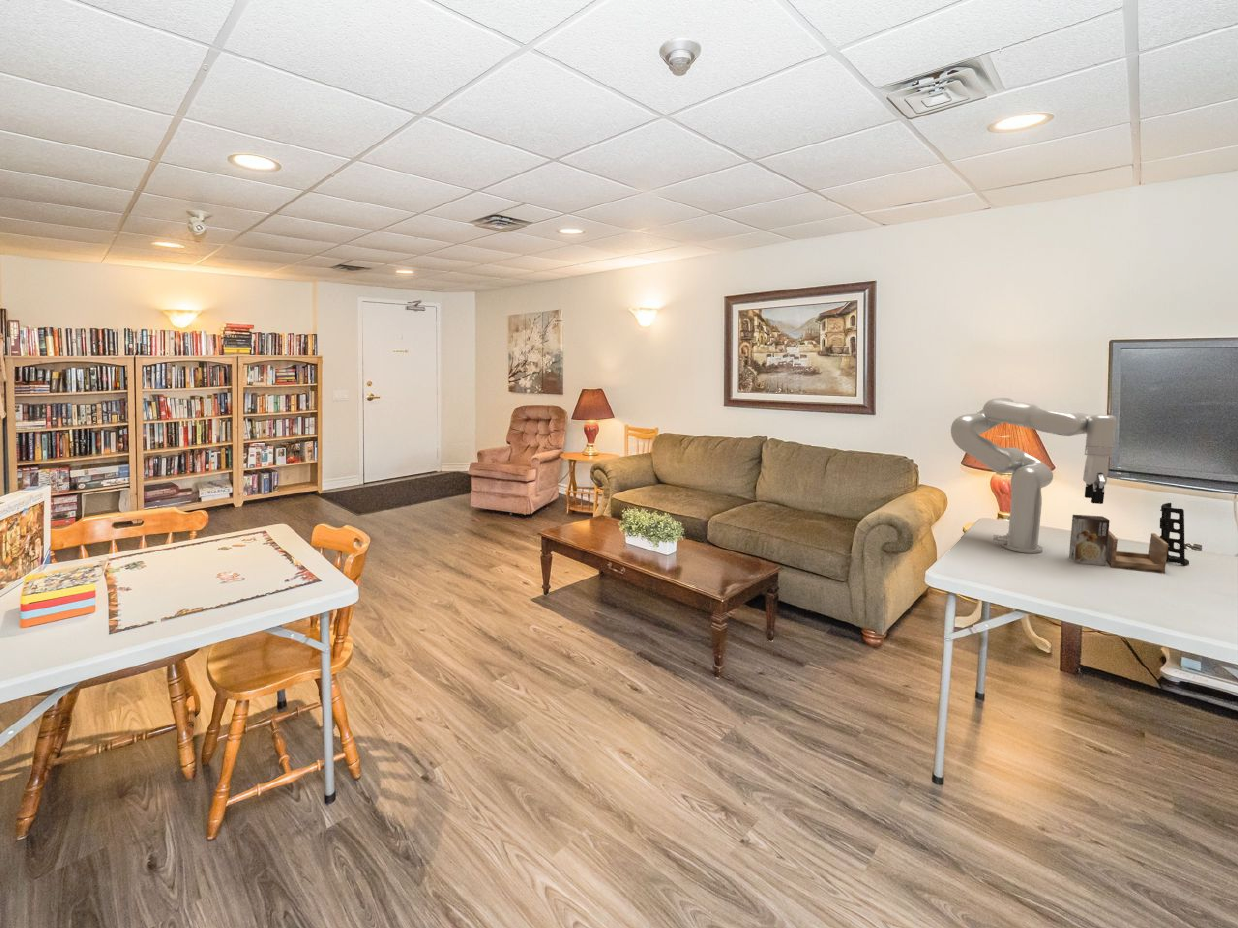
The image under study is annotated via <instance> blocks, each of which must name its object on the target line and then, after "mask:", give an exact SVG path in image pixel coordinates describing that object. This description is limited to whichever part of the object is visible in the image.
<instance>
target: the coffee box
mask: <svg viewBox="0 0 1238 928" xmlns="http://www.w3.org/2000/svg"><path fill="white" fill-rule="evenodd" d="M1071 517H1072V519H1071V528H1070V529H1071V530H1070V540H1069V541H1070V542H1069V551H1068V559H1069V560H1071V561H1072V562H1073V563H1074V564H1083V565H1098V566H1106V563H1107V562H1106V555H1107V544H1108V533H1109V531H1110V522H1111V521H1110V520H1109V519H1108V518H1106V517H1105V516H1101V515H1088V514H1087V515H1085V514H1072V516H1071Z"/></svg>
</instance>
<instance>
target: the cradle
mask: <svg viewBox="0 0 1238 928" xmlns="http://www.w3.org/2000/svg"><path fill="white" fill-rule="evenodd" d="M1118 542H1119V538H1117V537H1116V536H1115V535H1114V534H1113V533H1112V532H1111V530H1109V533H1108V544H1107V555H1106V563H1107V564H1108V566H1109V567H1110V568H1113V569H1120V570H1121V569H1123V570H1131V571H1139V572H1140V571H1141V572H1148V573H1149V572H1150V573H1158V574H1165V572H1166V565H1167V564H1166V563H1167V561H1166V558H1167V551H1168V543H1166V542H1165V541H1164V540H1163V539H1161V538H1160V536H1159V535H1158V534H1157V533H1154V532H1152V533H1150V538H1149V545H1148V546H1149V547H1148V553H1143V552H1142V553H1141V552H1131V551H1123V550H1118Z"/></svg>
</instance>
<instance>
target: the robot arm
mask: <svg viewBox="0 0 1238 928" xmlns="http://www.w3.org/2000/svg"><path fill="white" fill-rule="evenodd" d="M1117 421H1118V420H1117V417H1116V416H1115V415H1111V414H1088V413H1083V412H1081V413H1080V412H1075V413H1074V412H1073V413H1062V412H1055V411H1049V410H1046V409H1042V408H1040V407H1039V406H1037V405H1036V404H1032V403H1025V402H1019V401H1015V400H1013V399H1011V398H1007V397H1000V398H999V397H998V398H992V399H989V400H987V401H986V403H985V404H984V405H983V407H982V409H981V410H979V411H977V412H975V413H969V414H968V413H967V414H962V415H960V416H958V417H956V418H955V419H954V420H953V421H952V424H951V426H950V434H951V439H952V441H953V442H954V443H955V445H956V446H957V447H958V448H959V449H960V450H962V451H963V452H964V453H966V454H967V455H969V456H971V457H972V458H974V459H975V460H976V461H978V462H979V463H981V464H982V465H984V466H986V467H987V468H988V469H990V470H992V471H993V472H995V473H996V474H1002V475H1003V474H1009V473H1011V476H1010V477H1011V478H1010V493H1011V495H1010V508H1009V510H1010V511H1009V520H1008V533H1006V534H1003V535H997V534H993V539H992V540H993V541H997V542H1002V544H1001V546H1002V547H1003V548H1004V549H1007V550H1009V551H1013V552H1019V553H1026V554H1027V553H1028V554H1038V553H1041V552H1042V551H1043V547H1042V546H1041V545H1040V544H1038V543H1039V535H1040V525H1041V515H1042V502H1043V498H1042V489H1043V488H1045V487H1047V486H1048V485H1051V483H1052V482H1053V479H1054V473H1053V471H1052V469H1051V468H1050V467H1049V466H1048V465H1046V463H1044V462H1043V461H1040V460H1039V459H1037V458H1036V457H1034V456H1032V455H1030V454H1029V453H1027V452H1025V451H1024V450H1021V449H1020V448H1017V447H1012V446H1011V447H1010V446H1009V447H1002V446H1000V445H998V444H996V443H994V442H992V441H991V440H990V439H988V438H986V437H984V436H981V434H984V433H987V432H988V431H991V430H992V429H995V427H998V426H999V425H1001V424H1003V423H1004V424H1008V425H1013V426H1020V427H1023V428H1027V429H1031V430H1036V431H1038V432H1041V433H1047V434H1051V435H1057V436H1063V437H1072V436H1078V435H1086V438H1085V449H1084V456H1086V459H1085V463H1084V464H1085V465H1084V469H1083V477H1082V478H1083V479H1082V480H1083V482H1084V483H1086V484H1085V489H1084V498H1087V499H1090V503H1092V504H1099V505H1102V504H1104V499H1105V485H1107V482H1108V475H1109V474H1108V473H1109V463H1110V461H1109V460H1110V459H1109V458H1112V457H1114V447H1115V439H1116V438H1115V437H1116V429H1117Z"/></svg>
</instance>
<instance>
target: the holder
mask: <svg viewBox="0 0 1238 928" xmlns="http://www.w3.org/2000/svg"><path fill="white" fill-rule="evenodd" d="M1184 511H1185V510H1184V509H1183V508H1176V507H1175V508H1174V507H1172V502H1166V503H1163V504H1162V505H1161V506H1160V512H1161V517H1160V518H1159V529H1161V531H1160V534H1161V535H1160V536H1159V537H1160V538H1161V539H1163V540H1164V541H1165V542H1166V543H1168V551H1167V558H1166V562H1170V563H1175V564H1180V565H1181V566H1183V567H1186V566H1188V565H1189V564H1190V560H1189V559H1188V558H1185V512H1184ZM1172 513H1174V514H1177V515H1179V518H1172ZM1175 524H1178V525H1179V526H1178V527H1179V528H1175ZM1171 533H1175V534H1178V535H1179V539H1178V538H1173V537H1171ZM1175 543H1176V544H1179V548H1176V547H1175ZM1169 552H1172V553H1176V554H1179V556H1178V555H1177V556H1176V555H1172V554H1170V553H1169Z"/></svg>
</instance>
